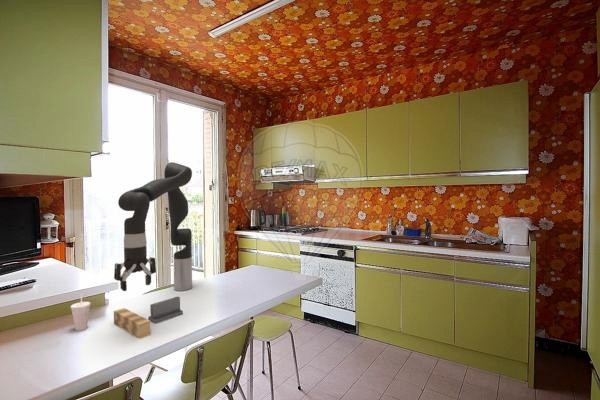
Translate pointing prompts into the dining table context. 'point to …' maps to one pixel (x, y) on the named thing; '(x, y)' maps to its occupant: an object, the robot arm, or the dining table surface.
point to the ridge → (165, 310)
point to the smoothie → (80, 314)
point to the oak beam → (132, 323)
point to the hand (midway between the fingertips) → (136, 287)
